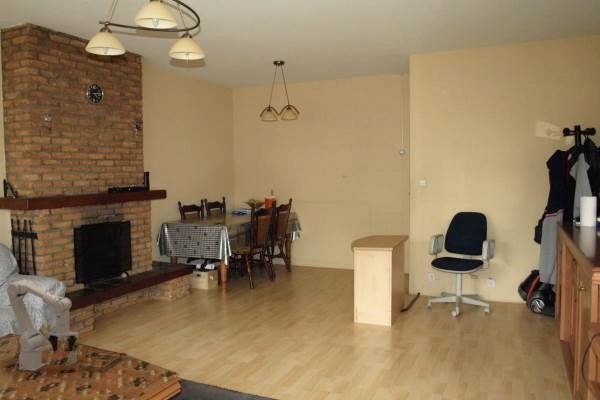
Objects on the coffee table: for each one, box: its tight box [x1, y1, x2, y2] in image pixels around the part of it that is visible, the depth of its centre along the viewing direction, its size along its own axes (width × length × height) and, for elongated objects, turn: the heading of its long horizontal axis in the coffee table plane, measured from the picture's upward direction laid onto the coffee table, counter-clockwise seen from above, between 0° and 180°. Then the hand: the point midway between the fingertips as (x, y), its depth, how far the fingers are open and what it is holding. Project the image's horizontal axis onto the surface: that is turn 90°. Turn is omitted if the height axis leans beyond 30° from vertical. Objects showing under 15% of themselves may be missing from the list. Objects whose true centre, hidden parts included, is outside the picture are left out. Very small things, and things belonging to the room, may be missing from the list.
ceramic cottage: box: [18, 322, 53, 353], centre depth 261 cm, size 16×16×15 cm
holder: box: [78, 352, 123, 373], centre depth 238 cm, size 14×15×2 cm
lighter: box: [67, 345, 83, 366], centre depth 241 cm, size 7×2×8 cm, turn 144°
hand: (63, 350), depth 231 cm, fingers open, 7 cm apart
